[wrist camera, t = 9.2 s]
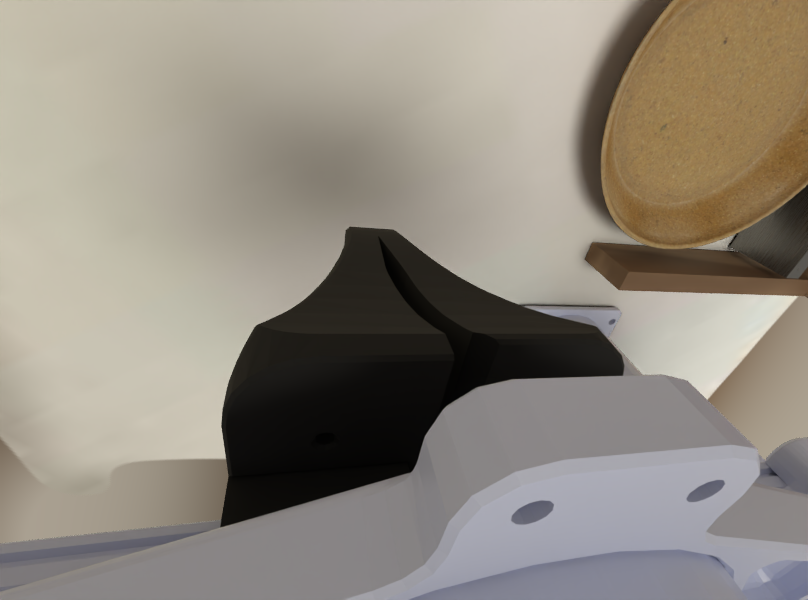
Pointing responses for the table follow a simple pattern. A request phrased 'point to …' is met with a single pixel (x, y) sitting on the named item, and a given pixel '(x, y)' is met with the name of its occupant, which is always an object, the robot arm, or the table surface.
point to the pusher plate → (779, 238)
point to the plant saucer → (709, 122)
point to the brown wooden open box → (689, 271)
